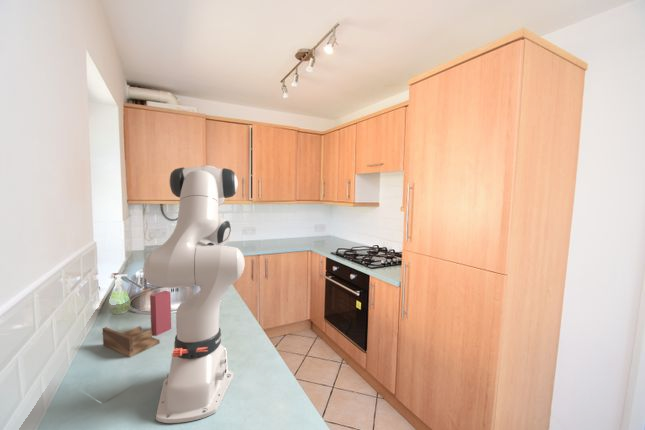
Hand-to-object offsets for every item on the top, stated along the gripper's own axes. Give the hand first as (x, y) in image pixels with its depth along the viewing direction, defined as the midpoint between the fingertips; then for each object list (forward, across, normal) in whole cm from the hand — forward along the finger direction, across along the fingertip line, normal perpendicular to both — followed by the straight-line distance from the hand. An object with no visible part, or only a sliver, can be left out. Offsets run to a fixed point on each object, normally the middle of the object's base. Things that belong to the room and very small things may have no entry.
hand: (178, 261), depth 117 cm
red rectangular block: (+15, +3, +22) cm, 27 cm away
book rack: (+26, +1, +20) cm, 32 cm away
